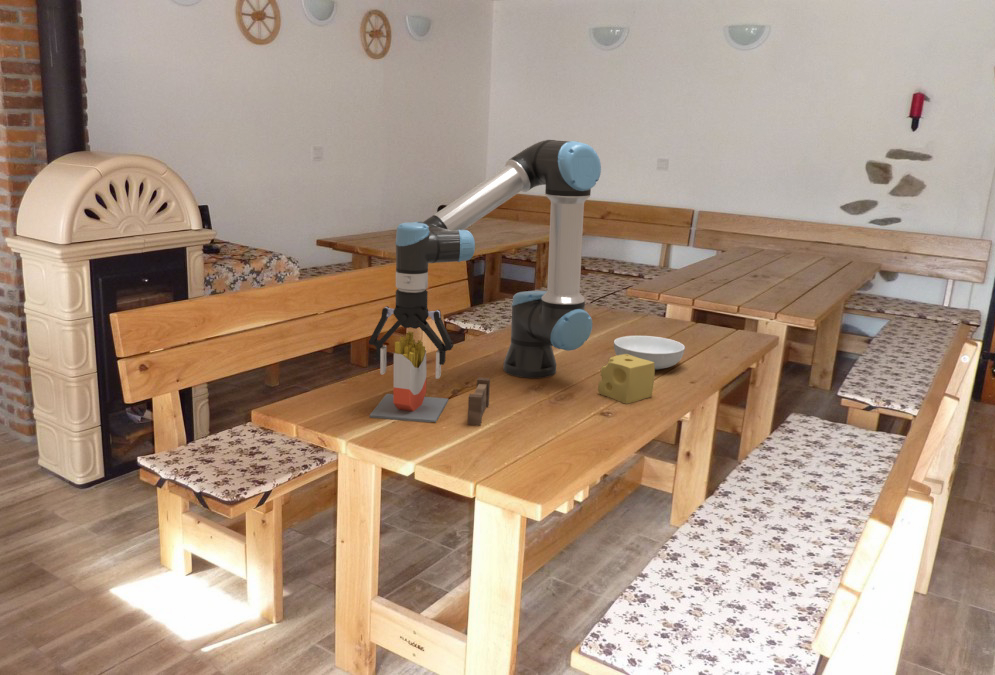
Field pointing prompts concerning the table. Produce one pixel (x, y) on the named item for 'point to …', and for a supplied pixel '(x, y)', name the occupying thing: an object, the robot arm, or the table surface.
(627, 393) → the cheese
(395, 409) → the slate mat
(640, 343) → the serving bowl
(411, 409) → the french fries container
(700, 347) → the table surface
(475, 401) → the walnut fence
